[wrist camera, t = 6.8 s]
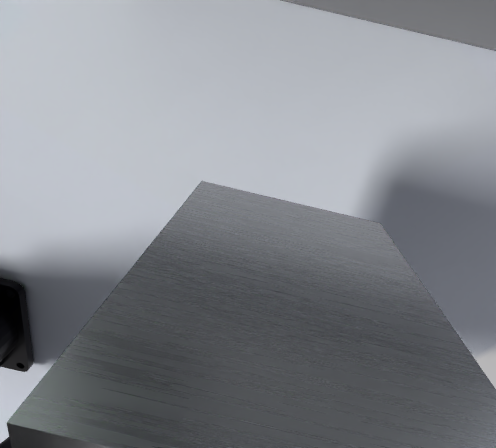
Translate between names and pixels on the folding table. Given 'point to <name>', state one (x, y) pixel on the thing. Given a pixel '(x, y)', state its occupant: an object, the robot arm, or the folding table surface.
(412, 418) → the grey bevelled block
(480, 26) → the open box
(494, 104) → the folding table surface
